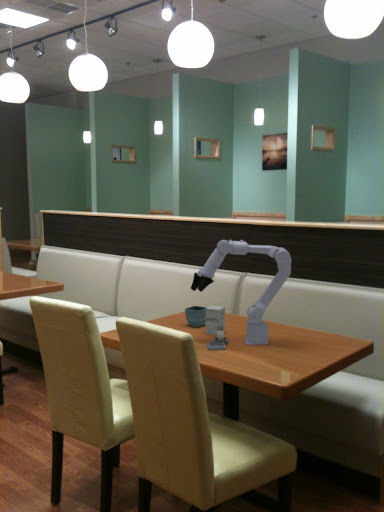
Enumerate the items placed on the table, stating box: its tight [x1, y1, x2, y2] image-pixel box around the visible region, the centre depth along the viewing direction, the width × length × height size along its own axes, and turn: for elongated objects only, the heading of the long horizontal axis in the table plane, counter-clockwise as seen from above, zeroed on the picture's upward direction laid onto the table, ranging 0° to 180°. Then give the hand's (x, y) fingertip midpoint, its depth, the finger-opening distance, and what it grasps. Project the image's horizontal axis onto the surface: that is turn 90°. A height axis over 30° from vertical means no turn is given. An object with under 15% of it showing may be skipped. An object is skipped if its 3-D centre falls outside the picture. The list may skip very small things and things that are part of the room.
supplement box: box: [205, 305, 226, 336], centre depth 250 cm, size 7×7×13 cm
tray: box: [206, 342, 227, 351], centre depth 227 cm, size 7×7×2 cm
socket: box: [212, 336, 229, 346], centre depth 234 cm, size 6×6×2 cm
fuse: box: [216, 326, 225, 340], centre depth 234 cm, size 3×3×7 cm
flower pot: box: [184, 305, 208, 328], centre depth 264 cm, size 9×9×9 cm
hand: (195, 290), depth 234 cm, fingers open, 7 cm apart
